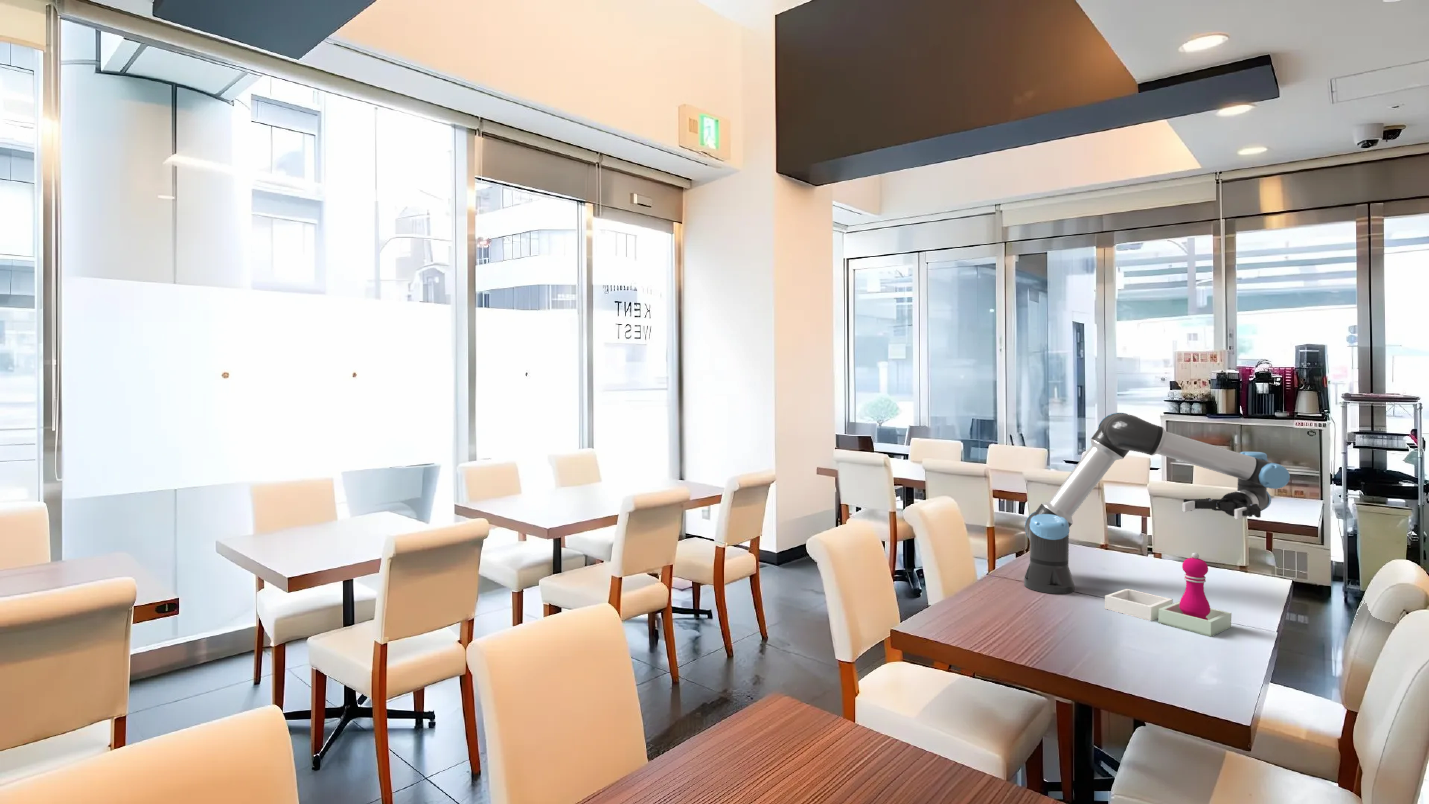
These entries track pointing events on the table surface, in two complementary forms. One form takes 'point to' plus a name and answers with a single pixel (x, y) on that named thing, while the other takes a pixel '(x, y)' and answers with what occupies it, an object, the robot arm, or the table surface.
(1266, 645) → the table surface
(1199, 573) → the pepper mill
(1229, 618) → the tray
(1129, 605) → the bin
